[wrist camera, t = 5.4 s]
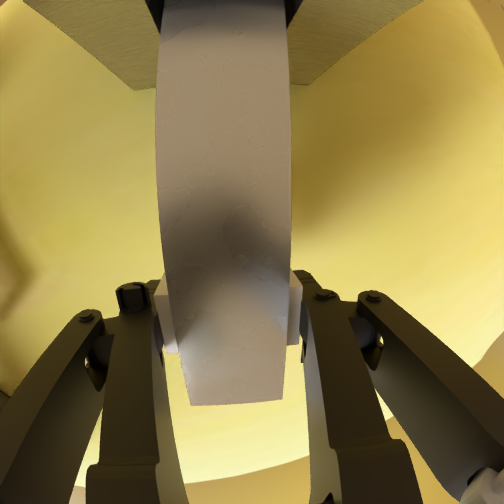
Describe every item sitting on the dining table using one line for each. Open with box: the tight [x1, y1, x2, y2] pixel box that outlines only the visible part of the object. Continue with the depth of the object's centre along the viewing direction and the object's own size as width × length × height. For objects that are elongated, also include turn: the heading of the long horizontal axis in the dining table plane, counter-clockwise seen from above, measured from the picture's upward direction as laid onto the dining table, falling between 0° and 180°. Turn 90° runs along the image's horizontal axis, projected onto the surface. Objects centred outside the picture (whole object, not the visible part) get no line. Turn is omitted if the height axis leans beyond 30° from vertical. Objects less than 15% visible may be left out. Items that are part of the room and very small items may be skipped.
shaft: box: [155, 0, 292, 406], centre depth 8 cm, size 26×4×4 cm, turn 1°
